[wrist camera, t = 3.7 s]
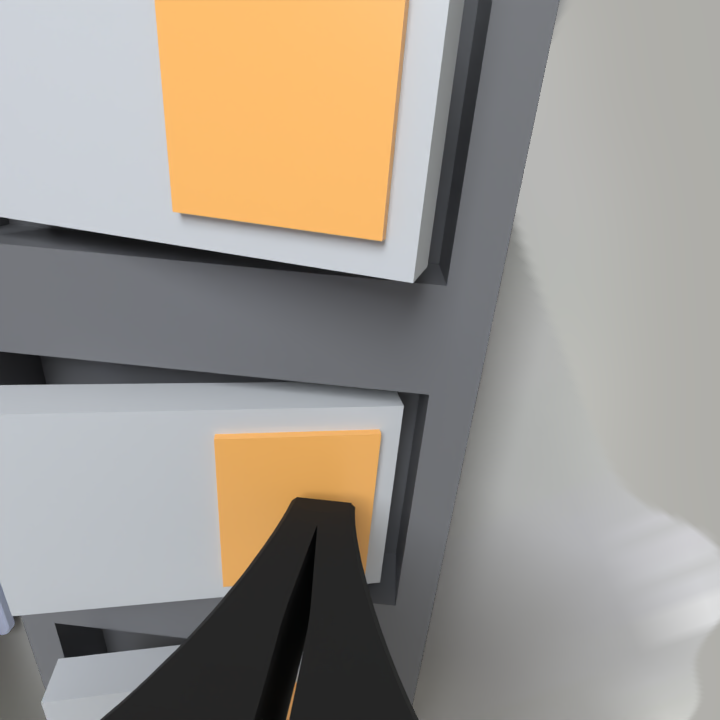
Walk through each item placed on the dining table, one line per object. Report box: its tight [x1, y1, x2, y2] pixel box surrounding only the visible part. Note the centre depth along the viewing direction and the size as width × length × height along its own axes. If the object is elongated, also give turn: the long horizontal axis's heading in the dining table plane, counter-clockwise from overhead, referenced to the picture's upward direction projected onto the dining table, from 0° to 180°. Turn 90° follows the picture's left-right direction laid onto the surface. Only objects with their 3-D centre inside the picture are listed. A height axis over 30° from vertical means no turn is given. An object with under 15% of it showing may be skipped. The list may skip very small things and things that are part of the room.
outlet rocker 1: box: [0, 382, 404, 616], centre depth 11 cm, size 9×6×1 cm, turn 85°
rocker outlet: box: [0, 0, 465, 283], centre depth 8 cm, size 9×6×1 cm, turn 86°
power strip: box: [0, 0, 560, 705], centre depth 14 cm, size 12×28×4 cm, turn 176°
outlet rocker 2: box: [41, 645, 303, 720], centre depth 15 cm, size 9×6×1 cm, turn 85°
